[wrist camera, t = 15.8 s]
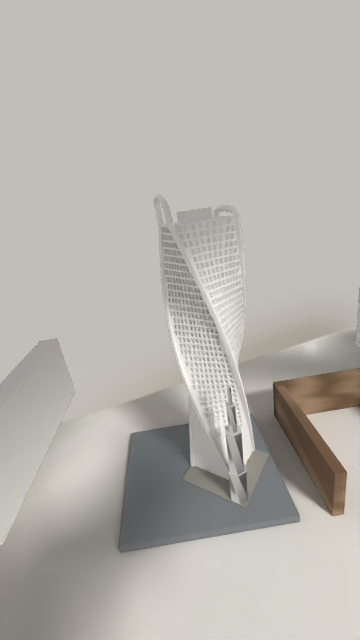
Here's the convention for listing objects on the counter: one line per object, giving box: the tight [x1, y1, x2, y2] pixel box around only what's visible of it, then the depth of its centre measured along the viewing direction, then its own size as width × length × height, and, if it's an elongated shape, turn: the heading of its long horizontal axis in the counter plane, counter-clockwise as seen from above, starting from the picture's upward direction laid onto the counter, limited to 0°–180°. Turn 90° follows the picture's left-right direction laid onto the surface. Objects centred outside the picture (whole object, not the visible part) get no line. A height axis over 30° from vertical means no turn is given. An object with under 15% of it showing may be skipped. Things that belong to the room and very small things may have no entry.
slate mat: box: [118, 413, 300, 553], centre depth 32 cm, size 16×14×1 cm
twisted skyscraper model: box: [154, 194, 269, 509], centre depth 28 cm, size 8×8×28 cm
